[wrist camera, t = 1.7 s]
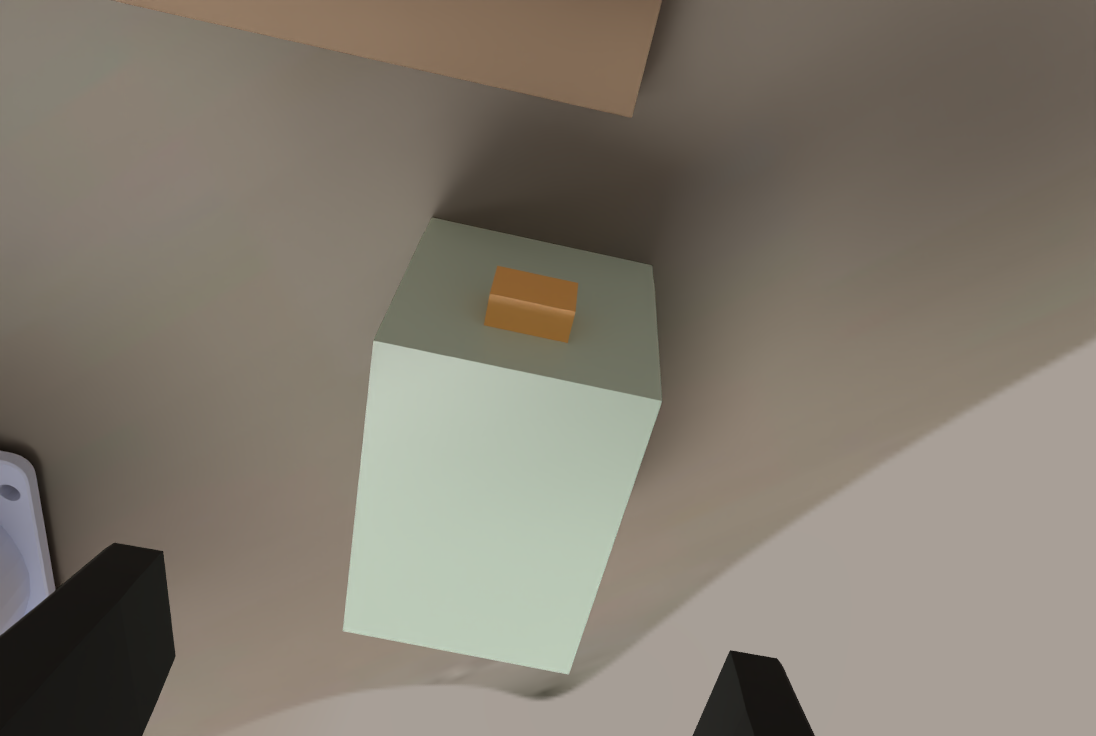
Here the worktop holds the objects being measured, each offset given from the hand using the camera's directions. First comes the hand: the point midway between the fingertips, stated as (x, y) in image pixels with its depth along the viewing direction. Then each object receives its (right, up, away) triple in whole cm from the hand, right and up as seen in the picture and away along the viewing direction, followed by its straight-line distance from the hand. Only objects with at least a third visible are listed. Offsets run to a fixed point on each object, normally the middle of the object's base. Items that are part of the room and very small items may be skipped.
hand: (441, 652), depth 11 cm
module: (+1, +3, +8) cm, 9 cm away
